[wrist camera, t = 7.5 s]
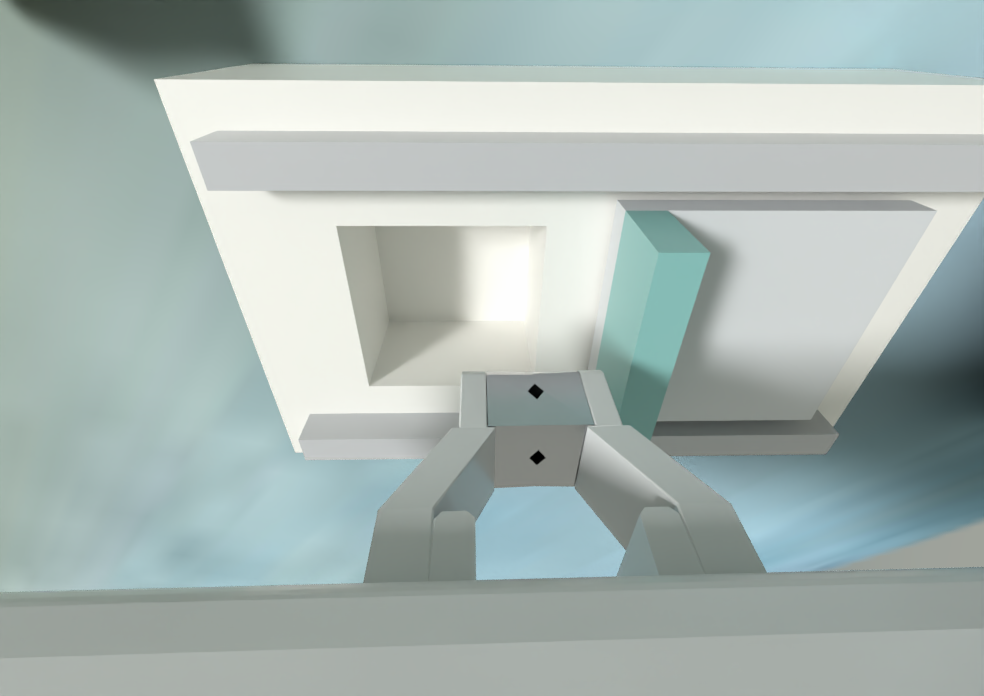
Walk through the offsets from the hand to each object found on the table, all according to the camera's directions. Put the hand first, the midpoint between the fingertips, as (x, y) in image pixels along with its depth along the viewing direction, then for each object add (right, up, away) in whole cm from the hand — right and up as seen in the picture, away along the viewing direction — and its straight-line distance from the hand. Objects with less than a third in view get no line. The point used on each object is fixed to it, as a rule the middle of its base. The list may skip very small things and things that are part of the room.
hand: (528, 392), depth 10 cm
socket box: (+2, +5, +8) cm, 9 cm away
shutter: (+6, +2, +3) cm, 7 cm away
